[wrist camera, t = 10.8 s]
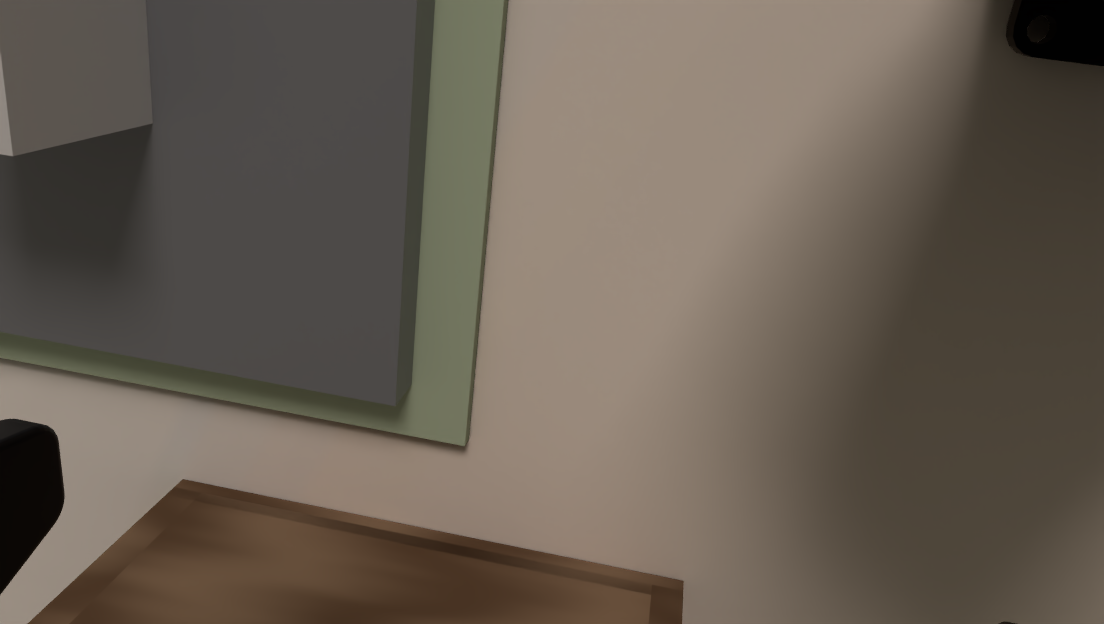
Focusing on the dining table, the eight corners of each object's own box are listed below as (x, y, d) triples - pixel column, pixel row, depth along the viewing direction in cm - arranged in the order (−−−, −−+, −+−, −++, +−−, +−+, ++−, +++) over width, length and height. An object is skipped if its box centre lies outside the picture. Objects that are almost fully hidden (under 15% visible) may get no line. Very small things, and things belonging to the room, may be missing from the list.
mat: (548, -446, 15) (543, -457, 15) (468, 438, 22) (464, 446, 21) (-328, -503, 17) (-351, -514, 17) (-156, 320, 24) (-169, 325, 23)
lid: (457, -355, 15) (343, -512, 11) (411, 384, 21) (324, 501, 16) (-264, -413, 17) (-644, -573, 12) (-129, 284, 23) (-355, 363, 18)
